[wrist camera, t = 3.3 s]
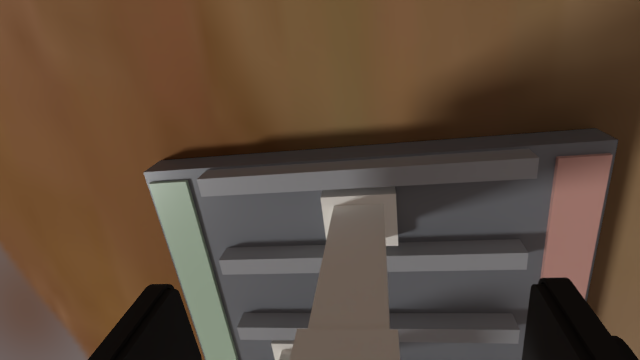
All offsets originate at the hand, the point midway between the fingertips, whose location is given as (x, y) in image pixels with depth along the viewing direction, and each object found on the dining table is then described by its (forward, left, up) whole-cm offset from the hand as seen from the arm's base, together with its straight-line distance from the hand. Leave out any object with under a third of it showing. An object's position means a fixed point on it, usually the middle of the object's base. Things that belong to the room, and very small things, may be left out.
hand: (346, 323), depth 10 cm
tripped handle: (0, 0, -7) cm, 7 cm away
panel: (0, +4, -8) cm, 9 cm away
